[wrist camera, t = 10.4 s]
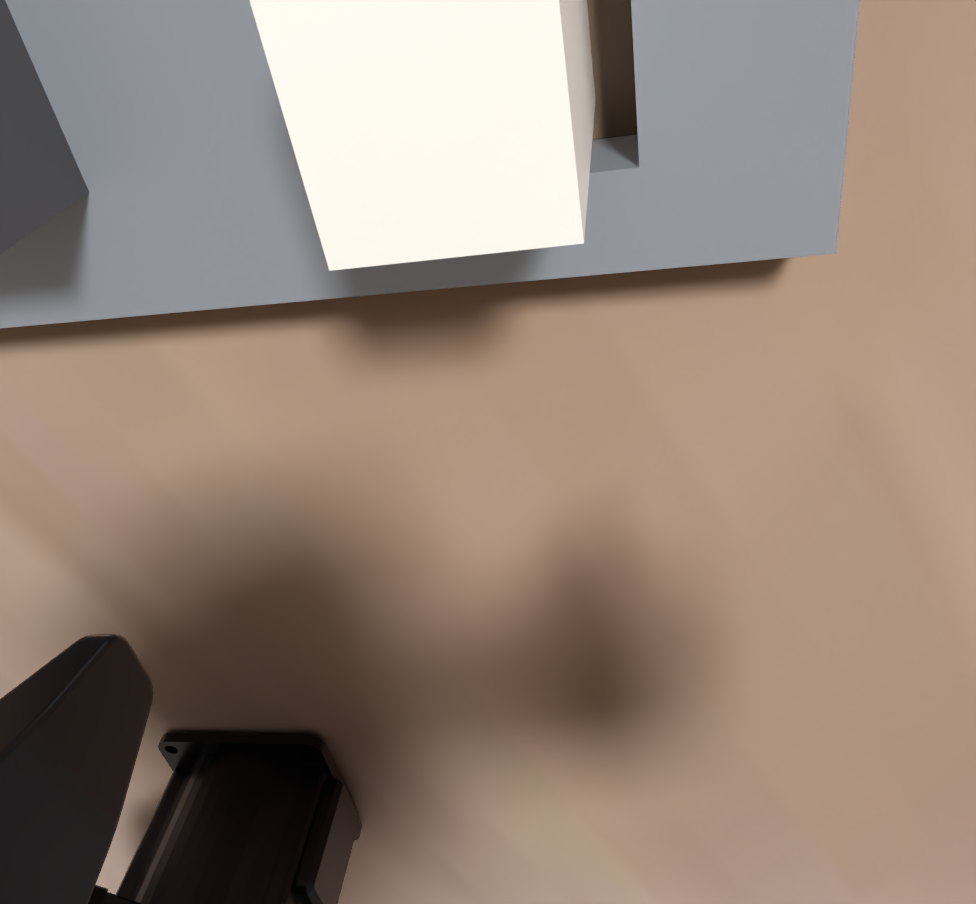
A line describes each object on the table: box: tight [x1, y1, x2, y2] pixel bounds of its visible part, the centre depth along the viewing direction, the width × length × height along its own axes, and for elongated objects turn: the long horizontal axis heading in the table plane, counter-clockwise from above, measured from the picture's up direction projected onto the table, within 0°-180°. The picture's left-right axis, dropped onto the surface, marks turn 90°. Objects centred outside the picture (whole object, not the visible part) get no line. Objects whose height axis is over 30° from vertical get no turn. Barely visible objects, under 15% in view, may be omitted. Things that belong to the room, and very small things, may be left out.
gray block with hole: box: [0, 0, 860, 328], centre depth 14 cm, size 22×10×5 cm, turn 99°
